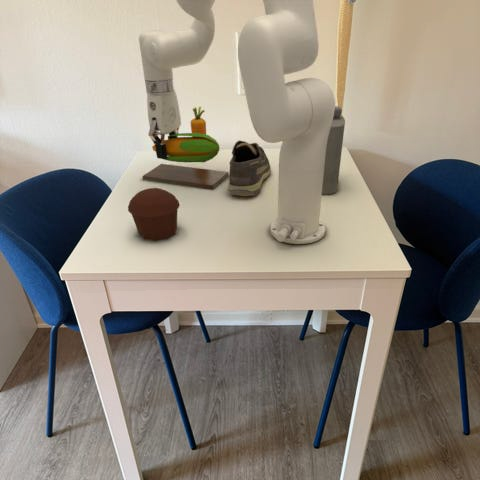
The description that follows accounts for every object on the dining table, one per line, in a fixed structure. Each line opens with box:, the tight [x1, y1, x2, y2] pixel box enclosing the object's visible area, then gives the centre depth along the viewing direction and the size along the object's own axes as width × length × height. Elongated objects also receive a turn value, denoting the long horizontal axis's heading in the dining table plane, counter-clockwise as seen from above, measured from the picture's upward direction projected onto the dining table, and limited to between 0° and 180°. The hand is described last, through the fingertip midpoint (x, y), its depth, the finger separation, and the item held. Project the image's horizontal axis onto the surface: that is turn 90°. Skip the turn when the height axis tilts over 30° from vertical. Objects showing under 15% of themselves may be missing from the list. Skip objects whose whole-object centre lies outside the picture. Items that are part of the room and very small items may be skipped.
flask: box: [322, 105, 346, 195], centre depth 118 cm, size 15×6×20 cm, turn 176°
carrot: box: [190, 106, 207, 137], centre depth 142 cm, size 5×5×15 cm
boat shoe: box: [227, 140, 271, 197], centre depth 125 cm, size 11×29×11 cm, turn 174°
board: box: [142, 163, 229, 190], centre depth 131 cm, size 11×23×1 cm, turn 67°
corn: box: [151, 132, 220, 163], centre depth 126 cm, size 7×8×20 cm
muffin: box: [127, 187, 181, 242], centre depth 101 cm, size 12×11×10 cm
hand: (168, 153), depth 128 cm, fingers closed on corn, 6 cm apart
